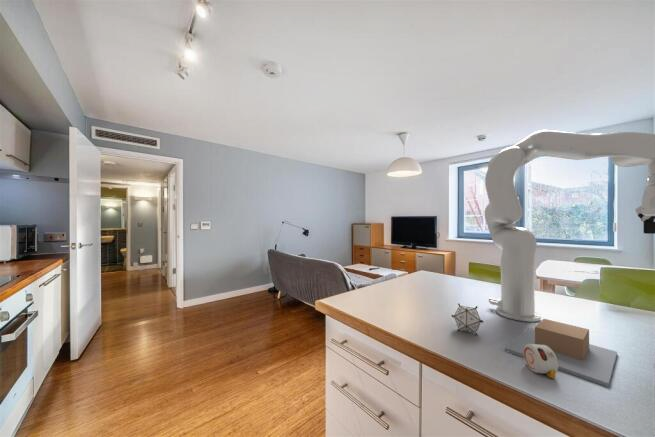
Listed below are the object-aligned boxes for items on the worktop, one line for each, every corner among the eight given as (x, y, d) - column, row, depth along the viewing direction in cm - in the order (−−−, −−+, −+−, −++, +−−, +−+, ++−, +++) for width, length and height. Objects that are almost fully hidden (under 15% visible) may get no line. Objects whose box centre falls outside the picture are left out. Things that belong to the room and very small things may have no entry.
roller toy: (542, 364, 59) (542, 340, 59) (563, 381, 53) (563, 354, 53) (521, 363, 60) (521, 338, 60) (540, 379, 53) (539, 352, 53)
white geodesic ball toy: (470, 347, 74) (469, 328, 69) (446, 327, 81) (443, 308, 76) (491, 329, 76) (491, 309, 71) (466, 311, 83) (464, 291, 78)
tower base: (504, 350, 65) (504, 328, 65) (528, 330, 77) (527, 311, 77) (608, 387, 51) (608, 358, 51) (617, 354, 63) (616, 331, 63)
